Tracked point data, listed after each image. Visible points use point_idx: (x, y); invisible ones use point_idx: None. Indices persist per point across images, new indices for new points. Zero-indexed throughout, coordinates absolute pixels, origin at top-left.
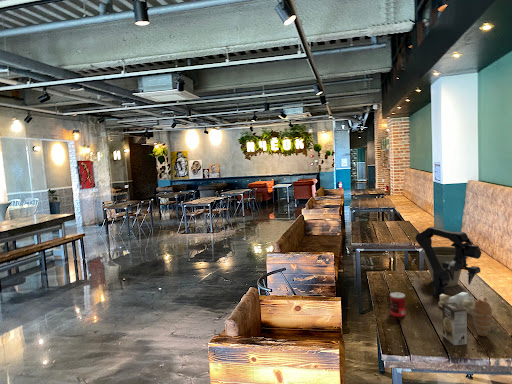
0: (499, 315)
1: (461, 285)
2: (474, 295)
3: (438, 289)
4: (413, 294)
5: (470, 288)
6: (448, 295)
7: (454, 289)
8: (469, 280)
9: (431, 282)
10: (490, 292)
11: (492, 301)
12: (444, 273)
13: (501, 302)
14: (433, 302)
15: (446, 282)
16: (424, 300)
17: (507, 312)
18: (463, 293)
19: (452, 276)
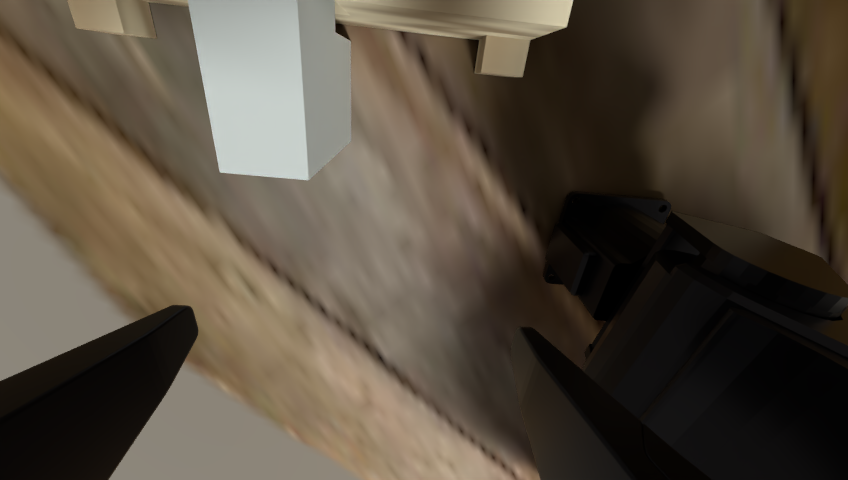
0: (12, 119)
1: (519, 468)
2: (393, 383)
3: (647, 235)
4: (843, 128)
5: (460, 456)
6: (466, 15)
7: None
8: (51, 363)
9: (810, 257)
10: (348, 459)
11: (256, 355)
12: (758, 476)
13: (211, 369)
14: (616, 31)
15: (609, 332)
16: (719, 23)
17: (45, 229)
18: (253, 106)
19: (555, 407)
